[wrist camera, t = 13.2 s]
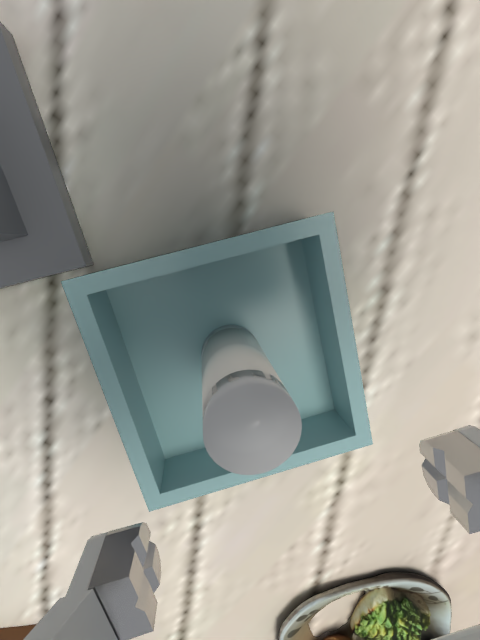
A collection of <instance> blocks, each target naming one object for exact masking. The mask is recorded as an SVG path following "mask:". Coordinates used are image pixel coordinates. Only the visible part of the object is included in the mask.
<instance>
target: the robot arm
mask: <svg viewBox="0 0 480 640" xmlns="http://www.w3.org/2000/svg"><path fill="white" fill-rule="evenodd" d="M419 447H420V453H421V454H422V455H423V456H424V457H425V460H424V462H423V464H422V469H423V475H424V478H425V480H426V482H427V485H428V486H429V488H430V489H431V491H432V493H433V494H434V495H435V496H436V497H437V498H438V499H439V500H440V501H442V502H445V503H447V504H449V505H450V512H451V514H452V515H453V516H454V517H455V518H456V520H457V521H458V522H459V523H460V524H461V525H462V526H463V527H464V528H465V530H466V531H467V532H468V533H469V534H471V533H475V532H479V531H480V430H479V429H478V428H476V427H475V426H471V425H468V426H465V427H462V428H459V429H456V430H453V431H450V432H447V433H444V434H440V435H437V436H434V437H431V438H427V439H424V440H421V441H420V444H419ZM150 533H151V532H150V530H149V528H148V526H147V523H144V522H142V523H138V524H135V525H131V526H127V527H124V528H120V529H116V530H112V531H109V532H106V533H103V534H99V535H95V536H92V537H91V538H90V539H89V540H88V541H87V543H86V546H85V548H84V551H83V553H82V556H81V558H80V561H79V564H78V566H77V569H76V571H75V574H74V576H73V579H72V581H71V584H70V586H69V589H68V592H67V594H66V597H63V598H60V599H59V600H58V601H57V602H56V603H55V604H54V606H53V607H52V608H51V609H50V610H49V611H48V612H47V613H46V615H45V616H44V617H43V618H42V619H41V620H40V621H39V622H38V624H37V625H36V626H35V627H34V628H33V629H32V630H31V631H30V633H29V634H28V635H27V636H26V637H25V638H24V639H23V640H129V639H132V638H135V637H137V636H140V635H143V634H146V633H149V632H152V631H154V624H155V616H156V609H157V600H156V598H155V595H154V592H155V591H156V589H157V588H158V586H159V585H160V578H161V563H160V557H159V552H158V549H157V547H156V545H155V544H154V543H152V542H150V541H149V539H150ZM432 640H480V624H479V625H475V626H472V627H469V628H466V629H463V630H460V631H457V632H454V633H450V634H447V635H444V636H441V637H438V638H435V639H432Z"/></svg>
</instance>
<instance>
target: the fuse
mask: <svg viewBox="0 0 480 640" xmlns="http://www.w3.org/2000/svg"><path fill="white" fill-rule="evenodd" d="M201 355H202V414H203V440H204V445H205V448H206V450H207V452H208V454H209V456H210V457H211V458H212V459H213V461H214V462H215V463H216V464H218V465H219V466H220V467H222V468H223V469H225V470H227V471H229V472H232V473H236V474H240V475H256V474H261V473H265V472H268V471H271V470H273V469H275V468H276V467H278V466H280V465H281V464H282V463H284V462H285V461H286V460H287V459H288V458H289V457H290V456H291V455H292V453H293V452H294V450H295V449H296V447H297V445H298V443H299V440H300V436H301V431H302V422H301V416H300V413H299V410H298V408H297V406H296V405H295V403H294V401H293V400H292V398H291V396H290V395H289V393H288V391H287V390H286V388H285V386H284V385H283V383H282V381H281V380H280V378H279V376H278V375H277V373H276V371H275V370H274V368H273V366H272V365H271V363H270V361H269V360H268V358H267V356H266V355H265V353H264V351H263V350H262V348H261V346H260V345H259V343H258V341H257V340H256V338H255V337H254V335H253V334H252V333H251V332H250V331H249V330H247V329H246V328H244V327H241V326H238V325H225V326H221V327H219V328H217V329H215V330H213V331H212V332H211V333H210V334H209V335H208V336H207V338H206V339H205V341H204V343H203V346H202V353H201Z"/></svg>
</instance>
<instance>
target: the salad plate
mask: <svg viewBox="0 0 480 640" xmlns="http://www.w3.org/2000/svg"><path fill="white" fill-rule="evenodd" d="M360 591H365V594H364V595H363V596H362V597H361V598H360V599H359V602H358V604H357V605H356V607H355V609H354V612H353V614H352V616H351V617H350V618H349V620H348V622H347V623H346V624H345V625H343V626H341V627H340V628H338V629H337V630H336V631H333V632H328V631H327V632H325V633H324V634H322V635H321V636H319V637H315V636H313V634H312V632H311V631H310V628H309V625H308V623H309V621H310V620H311V619H312V618H313V617H314V616H315V614H316V613H318V612H319V611H320V610H321V609H323V608H324V607H325V606H326V605H328V604H329V603H331V602H333V601H335V600H337V599H339V598H341V597H343V596H346V595H350V594H353V593H356V592H360ZM451 616H452V612H451V600H450V597H449V595H448V593H447V592H446V591H445V589H444V588H442V587H441V586H440V585H439V584H437V583H435V582H434V581H432V580H431V579H429V578H427V577H425V576H422V575H419V574H415V573H406V572H390V573H384V574H380V575H378V576H374V577H371V578H366V579H361V580H358V581H354V582H350V583H347V584H344V585H341V586H338V587H335V588H333V589H330V590H328V591H326V592H323V593H320V594H317V595H315V596H313V597H311V598H309V599H307V600H306V601H304V602H303V603H302V604H300V605H299V606H298V607H297V608H296V609H295V610H294V611H293V612H291V614H290V615H289V616H288V617H287V618H286V620H285V621H284V622H283V624H282V626H281V628H280V632H279V640H432V639H435V638H438V637H441V636H444V635H447V634H449V633H450V629H451Z"/></svg>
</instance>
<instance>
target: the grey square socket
mask: <svg viewBox="0 0 480 640" xmlns="http://www.w3.org/2000/svg"><path fill="white" fill-rule="evenodd" d="M90 265H94V264H93V262H92V259H91V256H90V253H89V250H88V248H87V245H86V242H85V239H84V236H83V233H82V231H81V228H80V225H79V222H78V219H77V217H76V214H75V211H74V208H73V205H72V202H71V200H70V197H69V194H68V191H67V188H66V186H65V183H64V180H63V177H62V174H61V171H60V169H59V166H58V163H57V160H56V157H55V155H54V152H53V149H52V146H51V143H50V140H49V138H48V135H47V132H46V129H45V126H44V124H43V121H42V118H41V115H40V112H39V109H38V107H37V104H36V101H35V98H34V95H33V93H32V90H31V87H30V84H29V81H28V78H27V76H26V73H25V70H24V67H23V64H22V62H21V59H20V56H19V53H18V50H17V47H16V45H15V42H14V39H13V36H12V34H11V33H10V32H9V31H8V30H7V29H6V28H5V26H4V25H3V24H2V23H1V22H0V288H4V287H8V286H12V285H16V284H20V283H23V282H27V281H31V280H35V279H39V278H43V277H47V276H51V275H55V274H59V273H63V272H67V271H71V270H74V269H78V268H82V267H86V266H90Z"/></svg>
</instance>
